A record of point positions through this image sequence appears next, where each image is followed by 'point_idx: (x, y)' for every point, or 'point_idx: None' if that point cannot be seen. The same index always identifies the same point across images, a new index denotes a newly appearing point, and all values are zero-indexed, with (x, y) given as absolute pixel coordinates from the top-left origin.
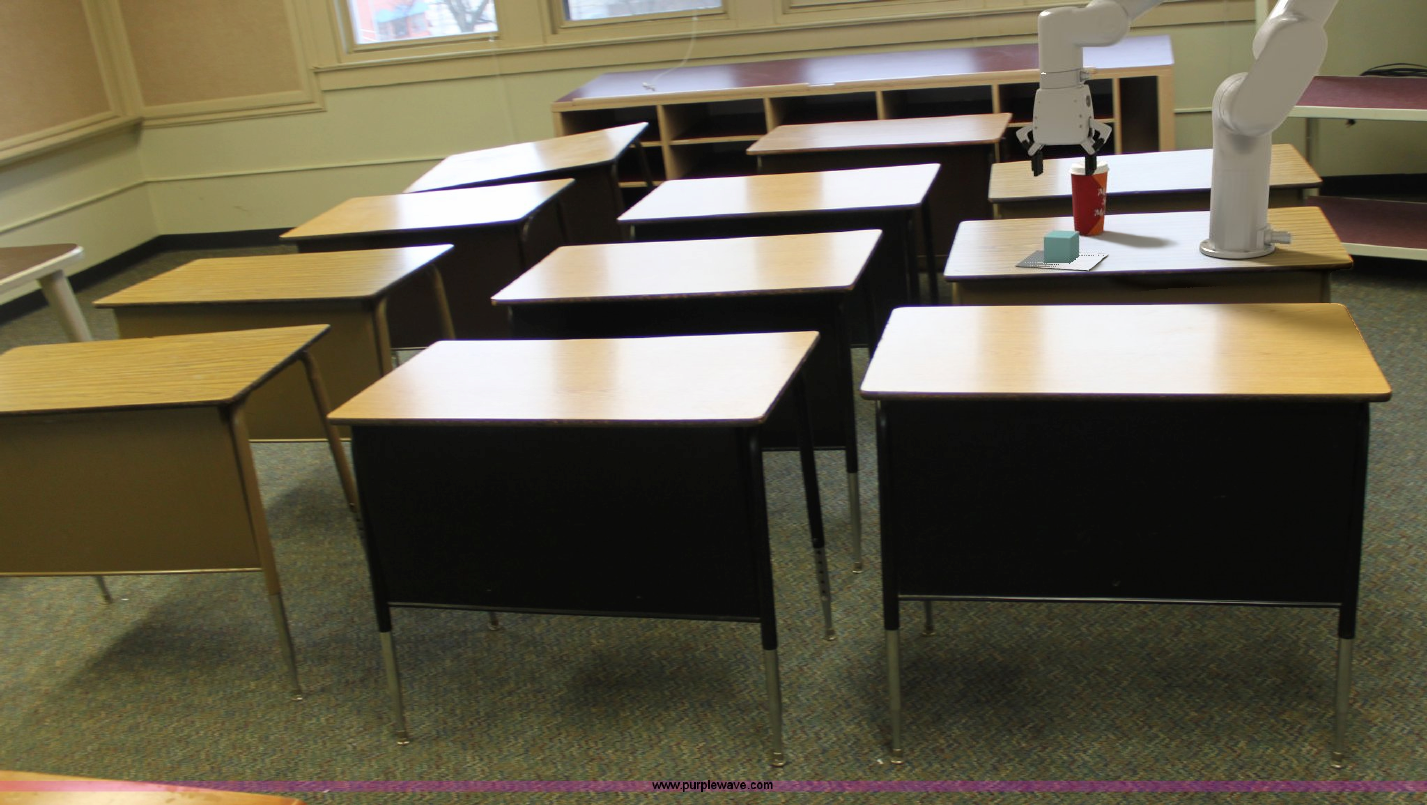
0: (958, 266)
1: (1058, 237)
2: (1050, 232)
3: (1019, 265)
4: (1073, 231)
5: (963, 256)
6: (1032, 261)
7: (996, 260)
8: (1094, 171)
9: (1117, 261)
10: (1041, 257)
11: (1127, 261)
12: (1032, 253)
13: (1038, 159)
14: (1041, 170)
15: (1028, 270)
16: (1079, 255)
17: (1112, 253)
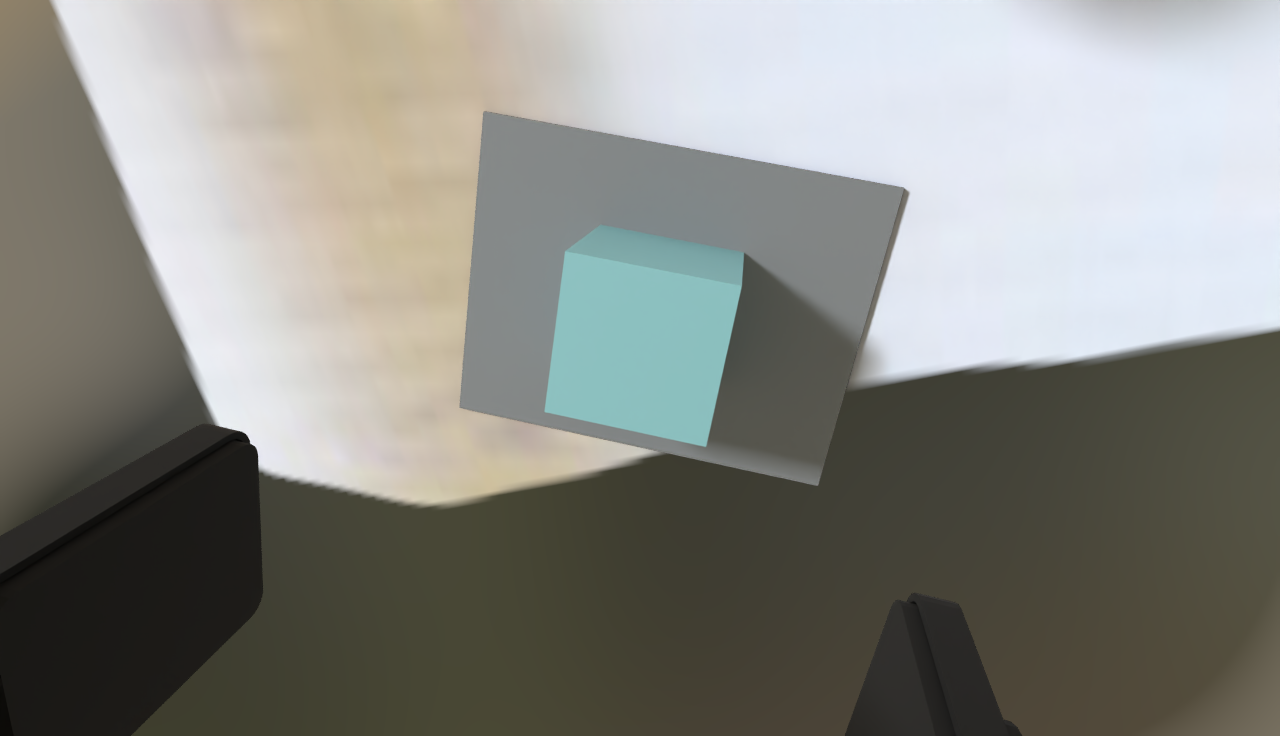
0: (211, 394)
1: (634, 427)
2: (559, 308)
3: (477, 403)
4: (703, 289)
5: (153, 223)
6: (519, 337)
7: (338, 295)
8: (956, 607)
9: (957, 313)
10: (545, 262)
11: (1013, 313)
12: (478, 183)
13: (88, 718)
14: (229, 519)
15: (537, 460)
16: (741, 221)
17: (926, 146)
